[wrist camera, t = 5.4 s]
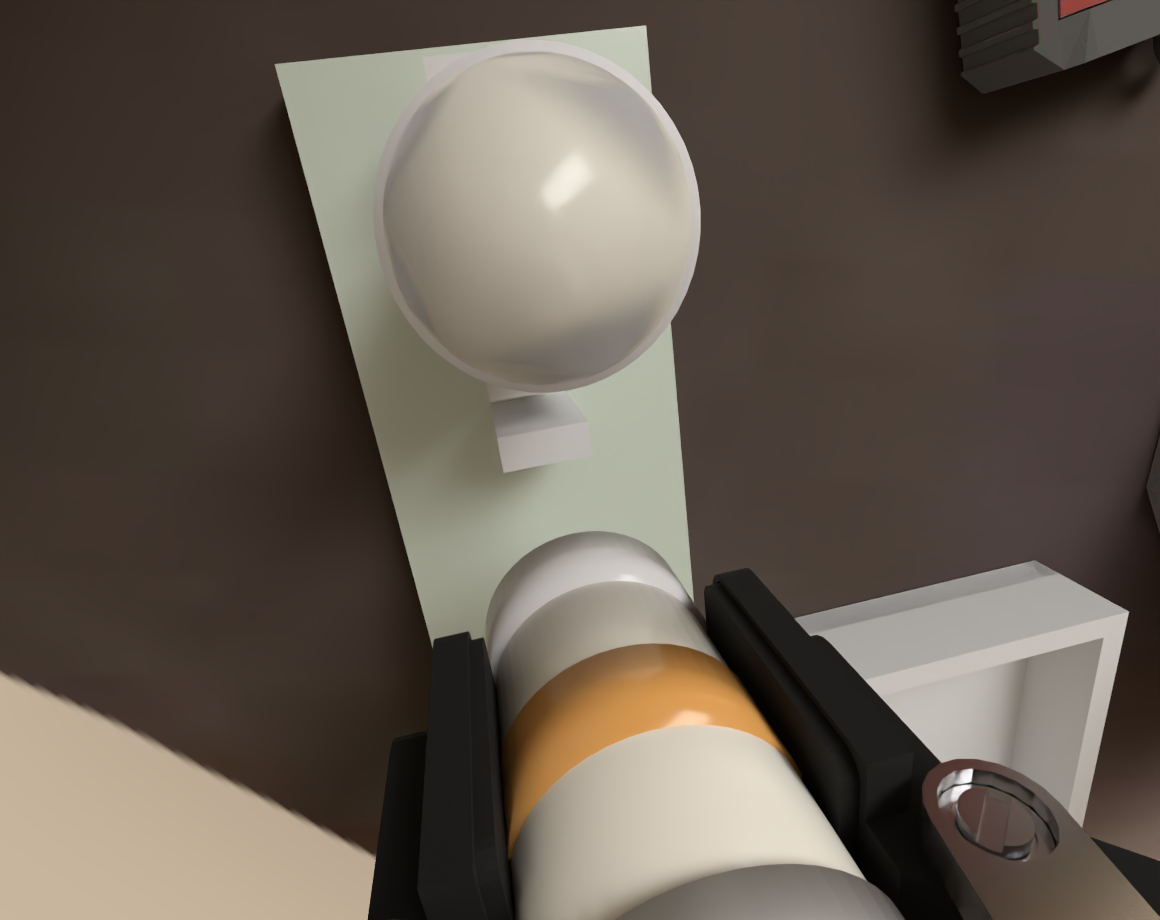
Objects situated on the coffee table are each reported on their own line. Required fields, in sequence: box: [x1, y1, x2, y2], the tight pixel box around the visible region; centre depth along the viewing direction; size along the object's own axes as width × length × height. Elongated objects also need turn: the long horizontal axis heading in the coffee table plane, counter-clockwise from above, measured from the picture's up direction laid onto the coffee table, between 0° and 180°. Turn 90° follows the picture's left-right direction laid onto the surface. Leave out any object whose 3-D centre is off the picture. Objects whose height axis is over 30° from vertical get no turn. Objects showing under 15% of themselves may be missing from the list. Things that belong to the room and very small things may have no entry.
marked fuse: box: [486, 531, 905, 920], centre depth 8 cm, size 4×4×8 cm
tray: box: [794, 560, 1129, 827], centre depth 23 cm, size 12×12×4 cm
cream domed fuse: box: [373, 40, 700, 393], centre depth 11 cm, size 4×4×8 cm
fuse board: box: [275, 26, 694, 647], centre depth 16 cm, size 22×8×4 cm, turn 8°
